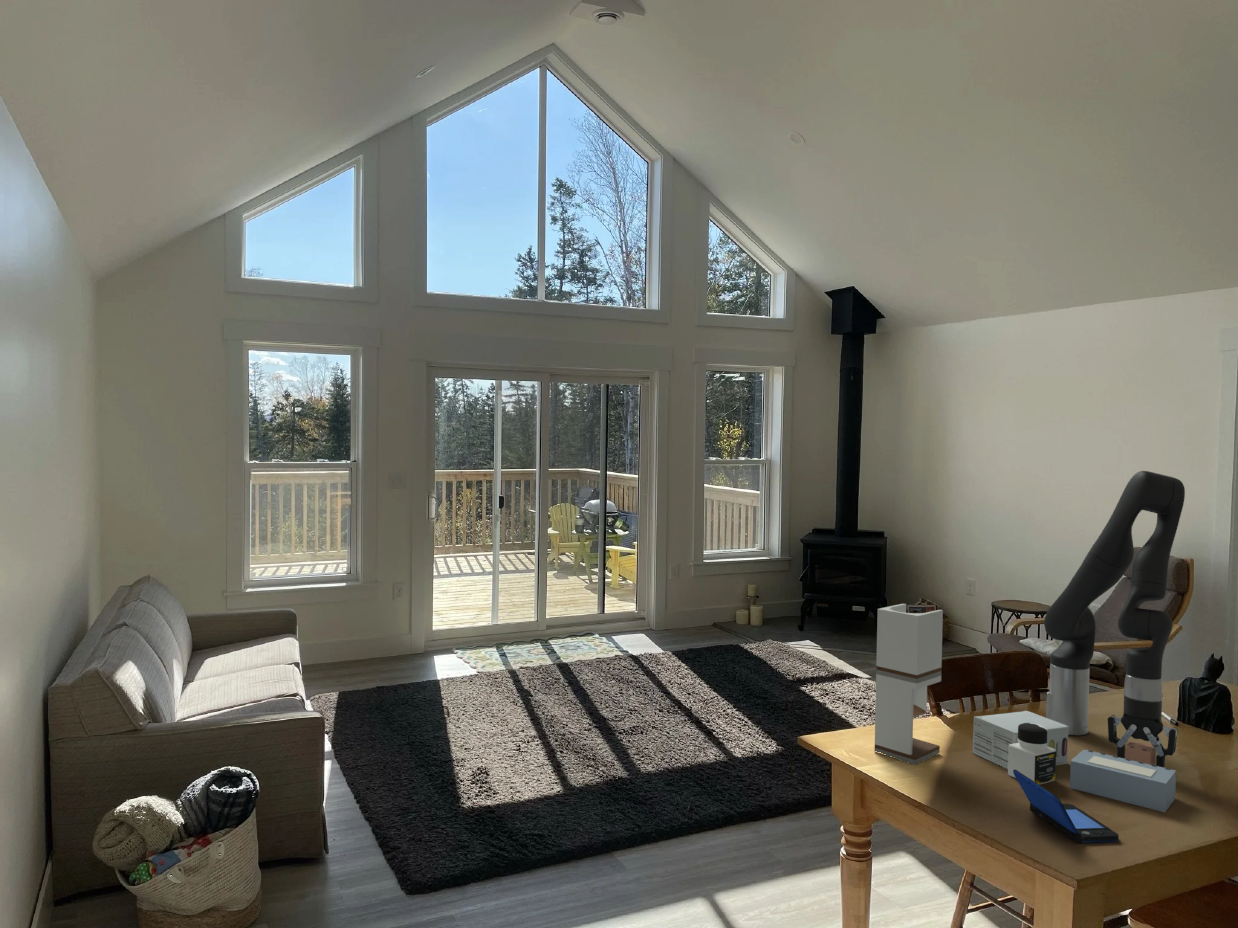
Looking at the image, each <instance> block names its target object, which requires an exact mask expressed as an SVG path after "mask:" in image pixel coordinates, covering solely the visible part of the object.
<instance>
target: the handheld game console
mask: <svg viewBox="0 0 1238 928" xmlns="http://www.w3.org/2000/svg"><path fill="white" fill-rule="evenodd" d="M1013 773H1014V775H1015V777H1016V778H1015V779H1016V781H1017V783H1018V785H1019V786H1020V788H1021V790H1022V791H1023V793H1024V795H1025V797H1026V798H1027V800H1028V802H1029V810H1030V811H1031V812H1032V813H1034V814H1035V815H1036V816H1038V817H1040V819H1042V820H1044V821H1045V822H1047V823H1049V824H1051V825H1053V826H1054V827H1055V828H1056V830H1058V831H1059V832H1060V833H1062V834H1063V835H1065V837H1067V838H1069V839H1070V840H1071V841H1072V842H1074V843H1076V844H1081V843H1102V842H1103V843H1107V842H1109V843H1110V842H1118V840H1119V839H1120V838H1119V834H1118V833H1117V832H1116V831H1114V830H1112V829H1111V828H1110V827H1109V826H1107V825H1105V824H1104V823H1101V821H1099V820H1097V819H1096V818H1094V817H1092V816H1091V815H1089V814H1088V813H1087V812H1085V811H1083V810H1082V809H1080V808H1079V807H1077V806H1076V805H1074V804H1072V803H1062V801H1061V800H1060V798H1059V797H1058V796H1057V795H1055V794H1054V793H1053V792H1051V791H1049V789H1046V788H1045V787H1044V786H1042V785H1041V784H1040V785H1039V784H1037V783H1036V782H1034V781H1033V780H1031V779H1030V778H1028V777H1026V776H1025V775H1023V774H1022V773H1020V772H1019V771H1017V770H1015V769H1014V770H1013Z"/></svg>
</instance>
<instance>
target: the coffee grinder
mask: <svg viewBox="0 0 1238 928" xmlns="http://www.w3.org/2000/svg"><path fill="white" fill-rule="evenodd" d="M943 615H944V610H943V609H937V610H932V611H927V612H923V613H922V612H920V613H919V612H918V613H916V612H915V613H914V612H913V613H911V612H907V603H900V604H894V605H889V606H885V607H881V608H877V618H876V620H877V624H876V625H877V628H876V630H877V631H876V663H875V665H876V668H875V669H876V671H875V711H874V712H875V716H874V717H875V718H874V752H875V751H877V752H881V753H883V754H886V755H888V756H892V757H895V758H897V759H900V760H902V761H901V762H903V761H905V762H904V763H906V762H909V763H911V764H910V765H912V764H914V765H913V766H916V765H918V764H920V763H919V762H921V763H922V761H923V760H925V761H927V760H929V759H928V758H930V757H932V756H934V757H936V756H937V755H936V754H938V753H939V754H940V751H941V750H940V748H941V747H940V745H938V744H936V743H932V742H927V741H925V740H922V739H917V738H914V737H913V736H914V733H913V732H914V718H915V717H921V716H923V715H925V714H927V712H928V711H927V706H928V705H927V704H928V703H927V702H928V686H931V685H934V684H937V683H941V682H942V669H943V668H942V665H943V664H942V663H943V661H942V659H943V625H944V622H943V620H944V616H943ZM935 755H936V756H935ZM932 758H933V757H932ZM897 759H896V760H897ZM926 759H927V760H926ZM930 759H931V758H930ZM900 760H899V761H900ZM923 762H924V761H923ZM909 763H908V764H909ZM917 763H918V764H917ZM915 764H916V765H915Z"/></svg>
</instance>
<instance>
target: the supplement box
mask: <svg viewBox="0 0 1238 928" xmlns="http://www.w3.org/2000/svg"><path fill="white" fill-rule="evenodd" d="M1023 723H1035V724H1039V725H1041V726H1043V727H1045V728H1046V729H1047V730H1048V736H1047V747H1050V748H1053V749H1055V750H1056V766H1062V765H1067V764H1068V758H1069V757H1068V752H1069V735H1068V730H1069V726H1066V725H1064V724H1061V723H1059V722H1056V721H1053V720H1050V719H1048V718H1046V717H1045V716H1042V715H1040V714H1037V713H1034V712H1032V711H1028V710H1022V711H1014V712H1005V713H996V714H988V715H978V716H977V715H976V716H975V715H974V716H973V729H972V735H973V736H972V754H974V755H977V756H978V757H981V758H983V759H984V760H987V761H990V762H991V763H993V764H994V765H995V764H996V765H998V766H999V765H1000V767H1001V766H1002V768H1003V769H1006V770H1008V748H1009V744H1014V743H1018V726H1019V725H1020V724H1023Z"/></svg>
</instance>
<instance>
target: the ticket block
mask: <svg viewBox="0 0 1238 928" xmlns="http://www.w3.org/2000/svg"><path fill="white" fill-rule="evenodd" d="M1069 768H1070V770H1069V771H1070V772H1069V774H1070V775H1069V789H1072V790H1076V791H1081V792H1085V793H1088V794H1092V795H1096V796H1100V797H1103V798H1108V799H1112V800H1115V801H1118V802H1123V803H1128V804H1131V805H1136V806H1138V807H1142V808H1146V809H1150V810H1154V811H1157V812H1162V813H1166V812H1167V811H1168V809H1169V808H1170V806H1172V804H1173V802H1174V801H1175V799H1176V792H1177V791H1176V789H1177V787H1176V786H1177V785H1176V783H1177V770H1175V769H1171V768H1169V767H1164V768H1163V767H1159V766H1157V765H1153V764H1152V765H1150V764H1145V763H1143V762H1140V761H1139V762H1137V761H1132V760H1130V759H1127V758H1126V759H1124V758H1119V757H1118V756H1117V755H1110V754H1106V753H1103V752H1097V751H1094V750H1091V749H1082V750H1081V751H1080V752H1078V754H1077V755H1075V756H1074V757H1073V758H1072V759H1070V767H1069Z"/></svg>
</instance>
